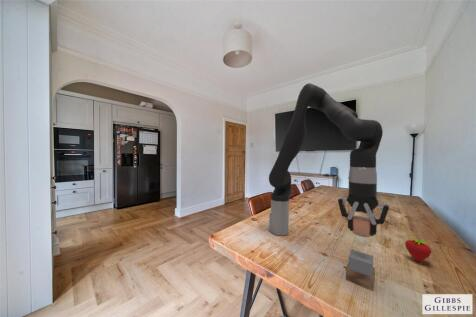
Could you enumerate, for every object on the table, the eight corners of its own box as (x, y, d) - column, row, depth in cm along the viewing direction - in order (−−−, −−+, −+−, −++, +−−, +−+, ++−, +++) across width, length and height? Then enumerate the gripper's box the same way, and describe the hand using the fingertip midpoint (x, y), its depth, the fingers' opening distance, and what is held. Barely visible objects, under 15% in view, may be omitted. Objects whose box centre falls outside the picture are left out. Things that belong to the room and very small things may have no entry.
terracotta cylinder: (351, 233, 58) (351, 218, 58) (353, 229, 62) (354, 214, 62) (370, 238, 55) (370, 222, 54) (371, 233, 58) (372, 218, 58)
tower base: (345, 280, 58) (345, 268, 58) (349, 270, 63) (350, 259, 63) (372, 291, 53) (372, 278, 53) (374, 279, 58) (375, 267, 58)
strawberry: (411, 255, 73) (412, 230, 73) (435, 266, 65) (436, 239, 65) (400, 256, 71) (401, 232, 71) (423, 268, 64) (424, 241, 64)
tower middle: (348, 268, 58) (348, 256, 58) (351, 260, 62) (351, 249, 62) (371, 277, 54) (371, 264, 54) (373, 267, 58) (373, 255, 58)
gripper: (391, 181, 56) (390, 235, 56) (340, 178, 65) (339, 223, 66) (391, 184, 50) (390, 244, 51) (334, 180, 60) (334, 230, 60)
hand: (361, 232), depth 58 cm, fingers closed on terracotta cylinder, 5 cm apart
